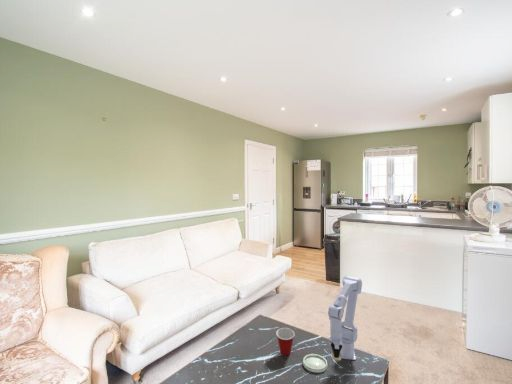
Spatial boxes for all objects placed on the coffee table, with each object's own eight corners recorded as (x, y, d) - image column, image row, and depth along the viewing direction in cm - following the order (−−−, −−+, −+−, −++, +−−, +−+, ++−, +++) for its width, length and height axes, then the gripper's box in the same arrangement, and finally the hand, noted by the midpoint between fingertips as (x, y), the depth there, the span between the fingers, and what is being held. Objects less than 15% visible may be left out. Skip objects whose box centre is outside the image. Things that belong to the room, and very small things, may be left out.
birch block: (331, 354, 147) (331, 345, 147) (340, 355, 146) (340, 346, 146) (331, 359, 142) (331, 350, 142) (340, 360, 141) (340, 351, 141)
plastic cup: (277, 359, 154) (277, 338, 153) (275, 347, 164) (275, 328, 164) (296, 358, 154) (296, 337, 154) (293, 347, 165) (293, 327, 165)
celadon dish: (303, 355, 156) (303, 352, 156) (327, 358, 153) (327, 355, 153) (302, 370, 144) (302, 367, 144) (327, 374, 141) (327, 370, 141)
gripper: (327, 321, 152) (327, 345, 152) (328, 335, 137) (328, 362, 138) (340, 322, 150) (341, 347, 150) (343, 337, 136) (343, 364, 136)
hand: (336, 354), depth 144 cm, fingers closed on birch block, 4 cm apart
